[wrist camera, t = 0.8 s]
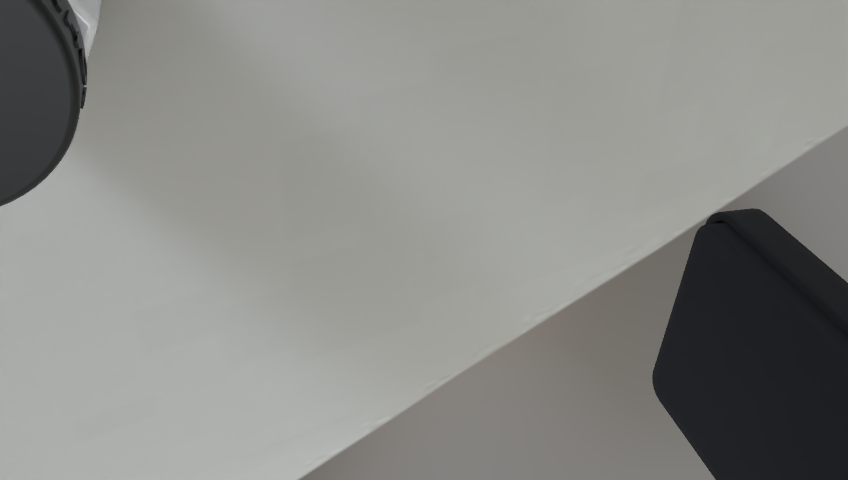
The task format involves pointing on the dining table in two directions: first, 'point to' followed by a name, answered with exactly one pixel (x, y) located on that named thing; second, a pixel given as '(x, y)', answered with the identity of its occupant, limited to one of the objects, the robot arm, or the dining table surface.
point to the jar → (41, 85)
